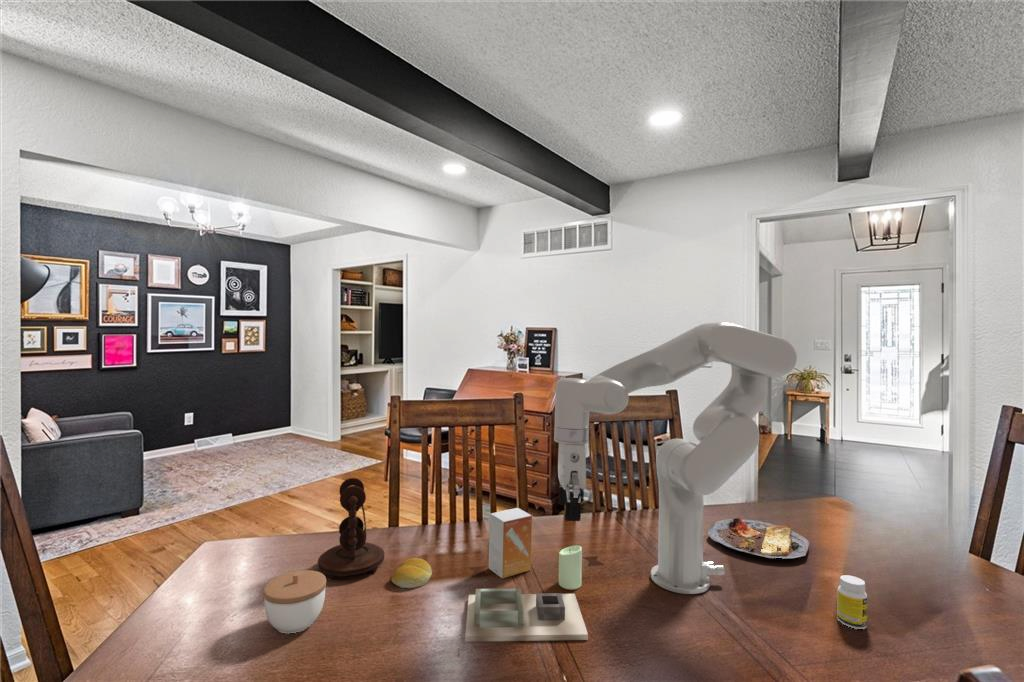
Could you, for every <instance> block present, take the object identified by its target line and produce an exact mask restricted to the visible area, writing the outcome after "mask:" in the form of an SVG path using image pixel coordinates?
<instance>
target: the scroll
mask: <svg viewBox="0 0 1024 682" xmlns="http://www.w3.org/2000/svg"><path fill="white" fill-rule="evenodd" d="M338 493H339V495H340V496H339V503H340V506H341V507H342V508H343V509H344V510H345V511H346V512H347V513H348V516H346V517H345V518H344V519H343V520H341V522H340V523H339V527H338V532H339V539H338V540H339V544H338V545H335V546H333V547H331V548H329V549H327V550H326V551H324V552H322V554H321V555H320V556H319V557H318V560H317V567H318V570H319V572H321V573H322V574H325V575H327V578H328V580H329V579H331V578H333V576H334V577H335V576H336V577H337V576H338V577H347V576H349V577H350V576H356V575H359V574H360V575H361V574H364V573H367V572H370V571H371V573H372V574H376V572H377V569H378V567H379V566H381V564H382V563H383V562H384V560H385V551H384V548H382V547H381V546H379V545H377V544H375V543H371V542H367V523H366V513H365V507H364V504H365V502H366V499H367V496H366V491H365V484H364V483H363V482H362V480H360V479H359V478H356V477H351V478H347V479H345V480H344V481H343V482H342V483H341V484H340V486H339V492H338ZM360 509H362V517H363V520H362V519H361V518H360V517H358V516H357V513H358V511H359V510H360ZM331 580H332V579H331Z"/></svg>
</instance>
